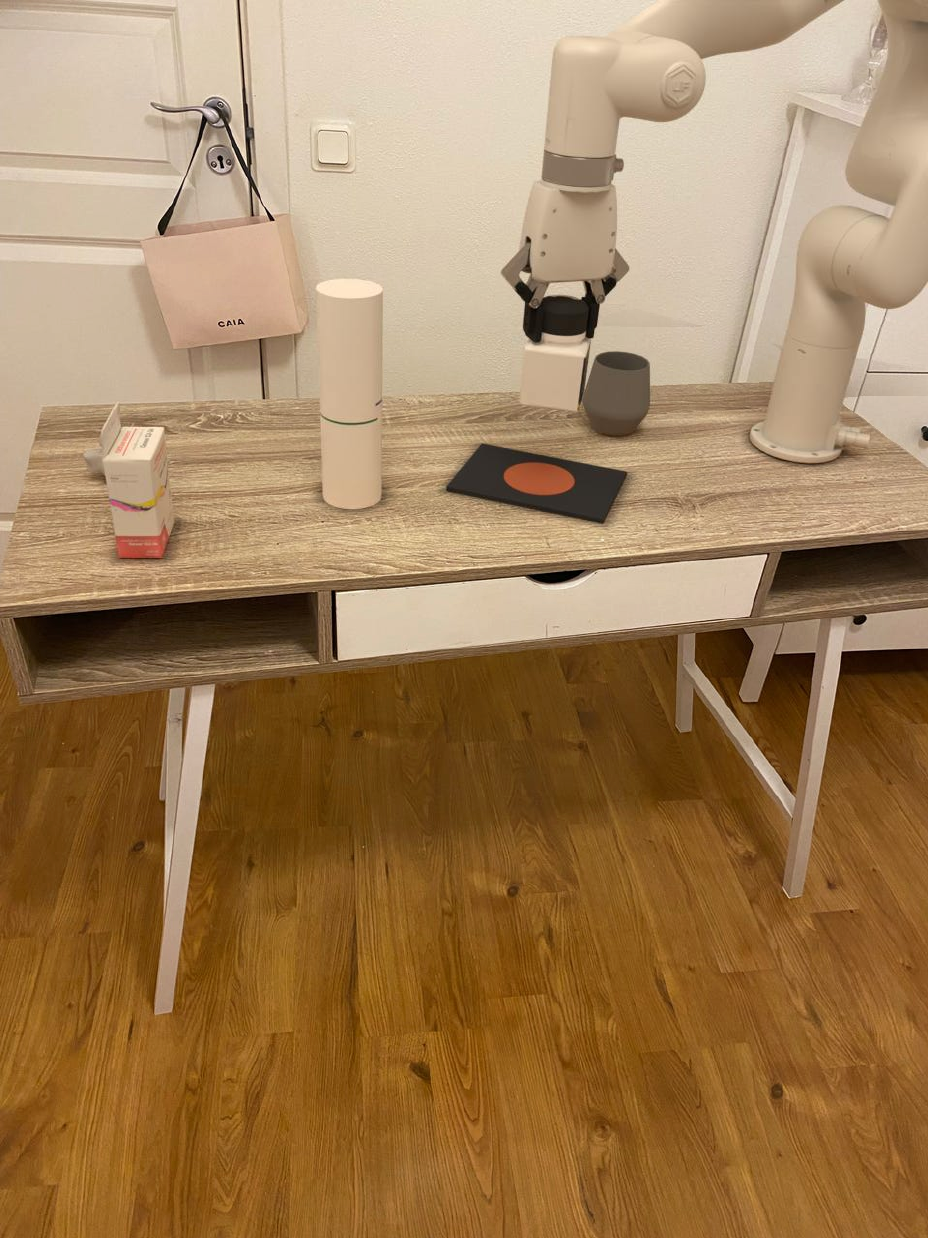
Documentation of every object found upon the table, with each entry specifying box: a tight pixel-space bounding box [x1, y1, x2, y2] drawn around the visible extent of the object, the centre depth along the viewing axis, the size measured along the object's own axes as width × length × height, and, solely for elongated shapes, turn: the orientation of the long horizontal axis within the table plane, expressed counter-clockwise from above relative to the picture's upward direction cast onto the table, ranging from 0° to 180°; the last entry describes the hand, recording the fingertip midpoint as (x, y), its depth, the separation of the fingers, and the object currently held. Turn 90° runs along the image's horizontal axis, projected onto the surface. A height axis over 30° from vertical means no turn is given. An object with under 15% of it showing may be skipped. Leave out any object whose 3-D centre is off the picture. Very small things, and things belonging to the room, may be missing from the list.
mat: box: [445, 443, 628, 524], centre depth 127 cm, size 20×14×1 cm
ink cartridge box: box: [100, 401, 175, 559], centre depth 106 cm, size 9×5×15 cm, turn 5°
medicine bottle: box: [518, 294, 592, 414], centre depth 117 cm, size 7×7×12 cm
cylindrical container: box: [315, 278, 384, 510], centre depth 115 cm, size 7×7×25 cm
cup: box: [581, 350, 651, 437], centre depth 139 cm, size 10×9×10 cm
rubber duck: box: [82, 422, 114, 477], centre depth 120 cm, size 5×7×8 cm
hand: (559, 335), depth 116 cm, fingers closed on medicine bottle, 6 cm apart
